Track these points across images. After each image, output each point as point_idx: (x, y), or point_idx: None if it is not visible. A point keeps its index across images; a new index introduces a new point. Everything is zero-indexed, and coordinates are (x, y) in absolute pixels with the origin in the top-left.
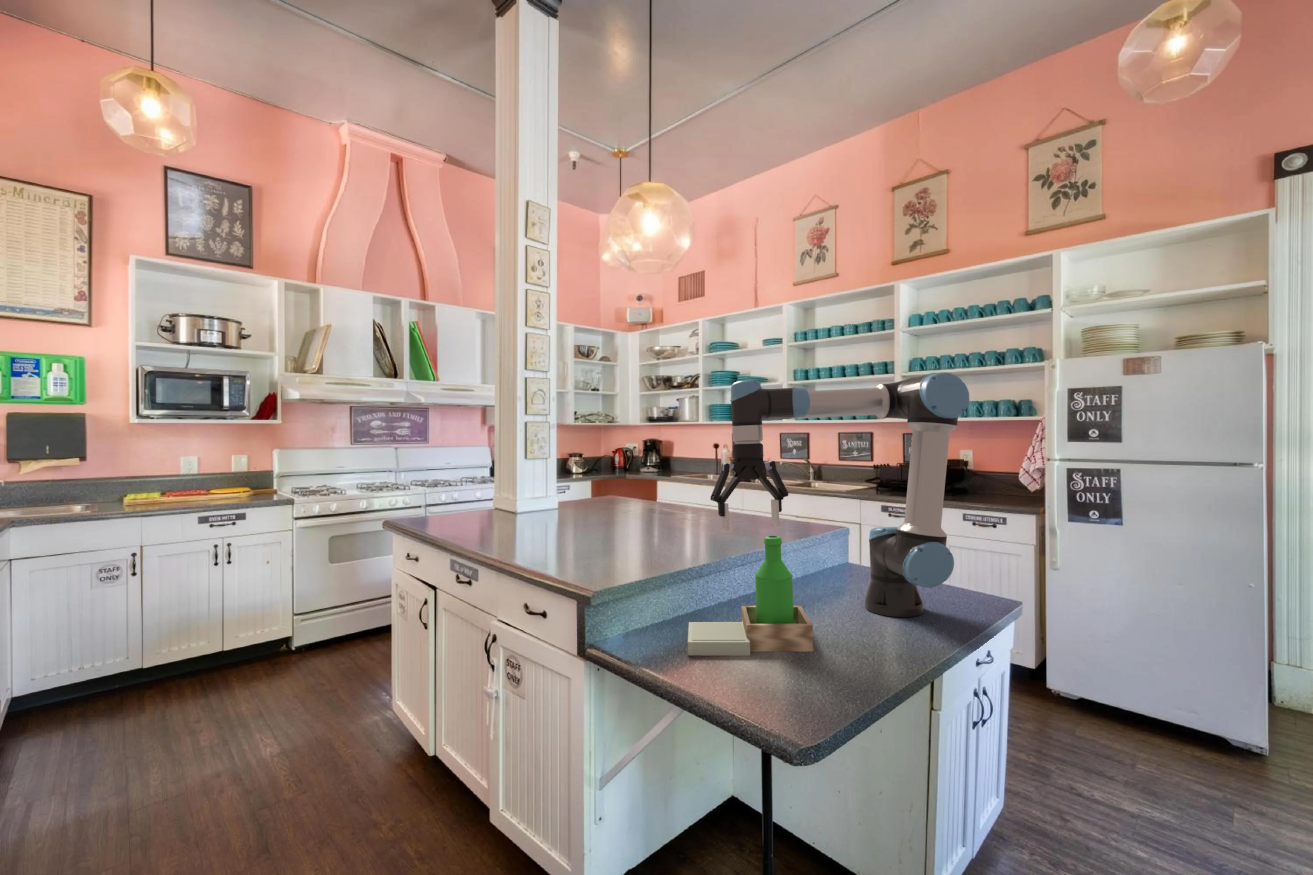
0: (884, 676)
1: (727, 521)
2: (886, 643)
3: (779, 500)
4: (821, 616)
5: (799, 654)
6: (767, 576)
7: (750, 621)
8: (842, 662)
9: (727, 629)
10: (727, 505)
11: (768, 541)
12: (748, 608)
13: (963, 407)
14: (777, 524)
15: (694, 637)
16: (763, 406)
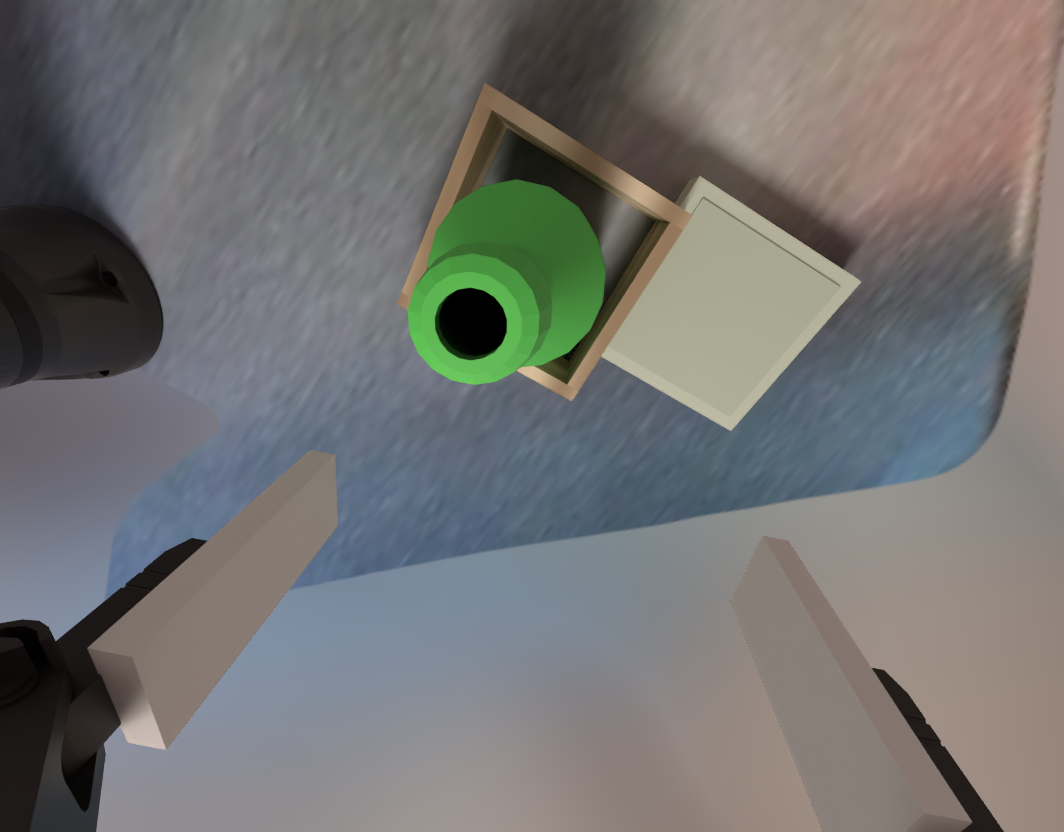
0: None
1: (811, 597)
2: (251, 42)
3: (76, 655)
4: (313, 349)
5: (554, 106)
6: (586, 235)
7: (556, 362)
8: None
9: (683, 313)
10: (921, 782)
11: (539, 289)
12: (559, 378)
13: None
14: (321, 461)
15: (818, 303)
16: None
